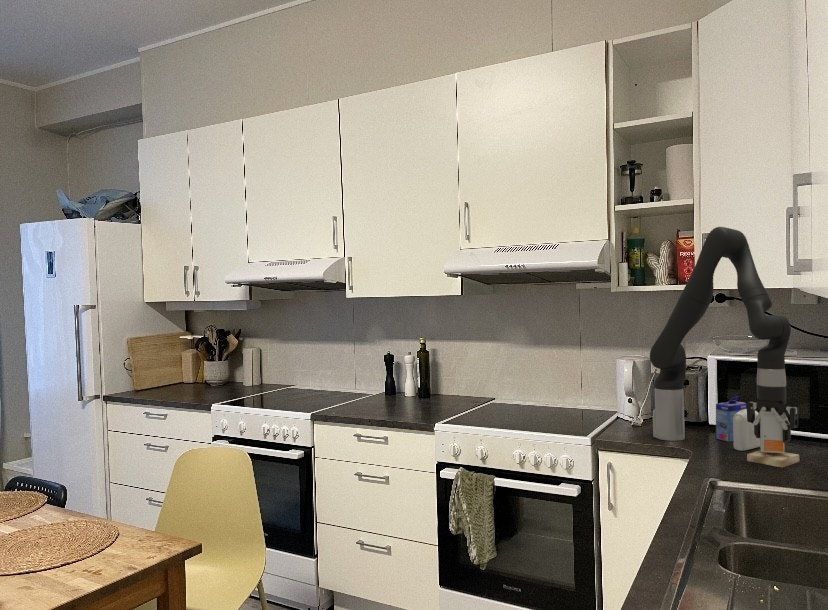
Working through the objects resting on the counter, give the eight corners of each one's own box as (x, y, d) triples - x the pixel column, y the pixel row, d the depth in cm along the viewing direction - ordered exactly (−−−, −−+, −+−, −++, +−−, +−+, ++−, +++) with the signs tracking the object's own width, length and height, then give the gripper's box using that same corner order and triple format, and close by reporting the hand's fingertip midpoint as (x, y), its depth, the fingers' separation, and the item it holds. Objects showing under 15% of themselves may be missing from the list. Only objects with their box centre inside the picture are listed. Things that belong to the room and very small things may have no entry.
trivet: (747, 460, 193) (747, 453, 193) (764, 455, 199) (764, 447, 199) (782, 467, 185) (782, 459, 185) (799, 461, 191) (799, 453, 191)
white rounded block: (749, 444, 213) (748, 406, 213) (762, 447, 209) (761, 408, 209) (731, 449, 207) (730, 410, 207) (744, 452, 204) (743, 412, 203)
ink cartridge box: (729, 442, 217) (728, 398, 216) (715, 439, 222) (714, 396, 221) (748, 438, 222) (747, 395, 221) (733, 435, 226) (732, 393, 226)
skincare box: (761, 452, 191) (761, 411, 191) (760, 449, 195) (759, 409, 195) (785, 453, 189) (784, 412, 189) (783, 450, 193) (782, 409, 192)
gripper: (740, 382, 195) (741, 437, 196) (790, 387, 183) (791, 446, 184) (753, 380, 200) (754, 434, 200) (803, 384, 188) (804, 442, 188)
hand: (772, 439), depth 192 cm, fingers closed on skincare box, 7 cm apart
